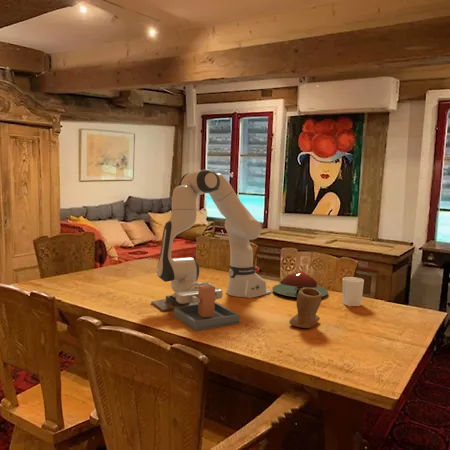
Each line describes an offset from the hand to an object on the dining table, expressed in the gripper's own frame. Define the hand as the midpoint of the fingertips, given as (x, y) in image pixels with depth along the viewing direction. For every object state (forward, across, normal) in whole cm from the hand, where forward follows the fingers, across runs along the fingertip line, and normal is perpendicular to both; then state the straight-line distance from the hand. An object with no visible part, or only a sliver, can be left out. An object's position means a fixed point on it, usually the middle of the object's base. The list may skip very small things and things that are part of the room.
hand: (207, 300), depth 191 cm
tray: (-1, 0, +8) cm, 9 cm away
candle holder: (+9, +72, +9) cm, 73 cm away
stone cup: (+22, +34, +9) cm, 41 cm away
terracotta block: (-1, 0, +6) cm, 7 cm away
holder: (-25, -2, +8) cm, 26 cm away
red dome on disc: (-17, +62, +9) cm, 65 cm away
